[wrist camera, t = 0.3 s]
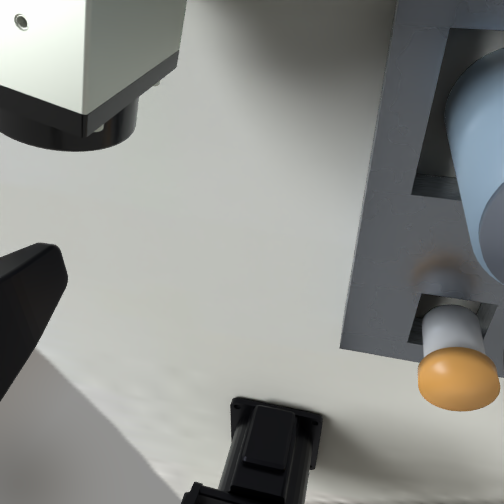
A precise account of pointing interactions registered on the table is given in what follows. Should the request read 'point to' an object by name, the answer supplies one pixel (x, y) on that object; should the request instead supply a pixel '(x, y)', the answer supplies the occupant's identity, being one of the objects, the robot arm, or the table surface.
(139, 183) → the table surface
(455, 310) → the plunger
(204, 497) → the robot arm
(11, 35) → the pneumatic valve
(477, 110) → the cartridge
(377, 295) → the housing
